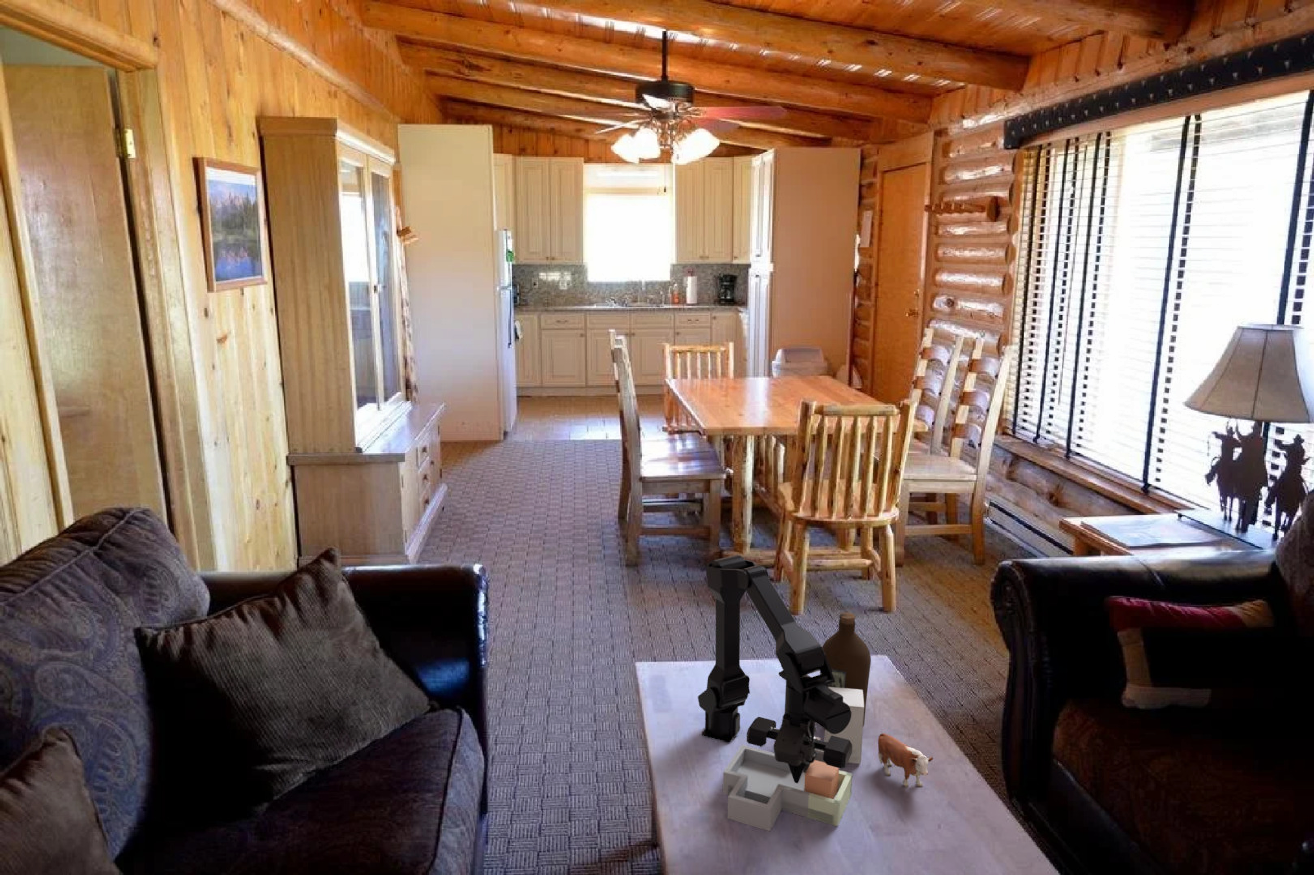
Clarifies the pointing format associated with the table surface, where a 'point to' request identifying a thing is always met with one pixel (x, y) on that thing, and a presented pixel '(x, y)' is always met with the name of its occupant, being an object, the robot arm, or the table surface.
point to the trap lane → (777, 791)
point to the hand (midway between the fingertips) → (797, 781)
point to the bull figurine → (902, 758)
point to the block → (822, 779)
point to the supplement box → (852, 721)
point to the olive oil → (848, 657)
